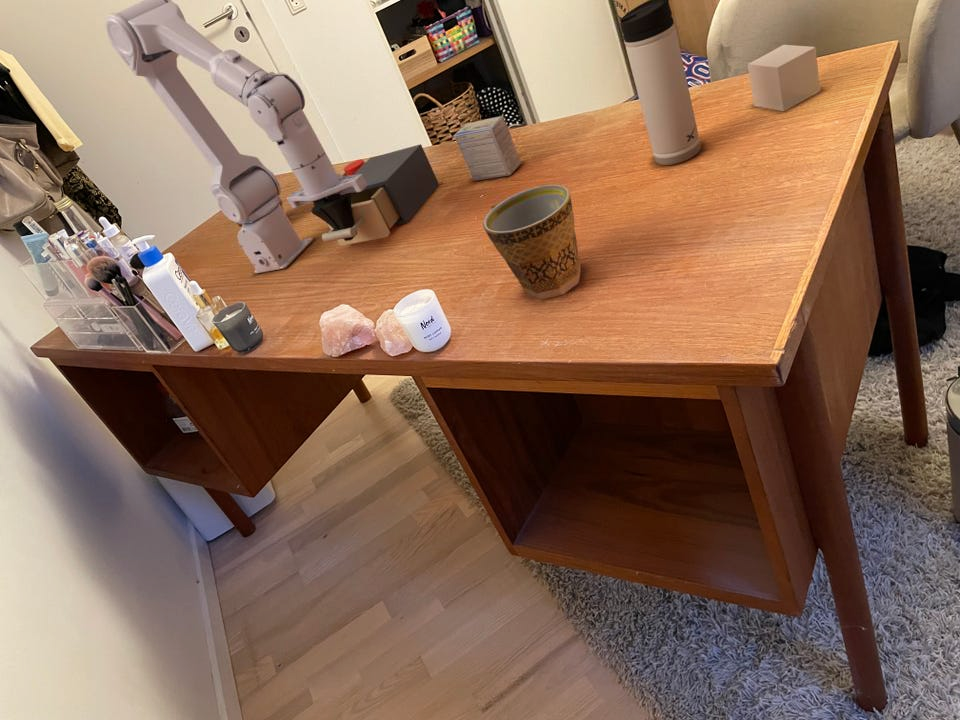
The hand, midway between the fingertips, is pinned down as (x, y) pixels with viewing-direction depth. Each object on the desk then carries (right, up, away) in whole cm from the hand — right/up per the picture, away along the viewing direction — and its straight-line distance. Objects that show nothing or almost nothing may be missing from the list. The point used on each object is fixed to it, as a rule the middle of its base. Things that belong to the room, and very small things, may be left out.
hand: (351, 237), depth 110 cm
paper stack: (+24, +12, +6) cm, 27 cm away
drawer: (+3, +2, +5) cm, 6 cm away
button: (-4, +18, +28) cm, 34 cm away
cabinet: (+6, +7, +11) cm, 15 cm away
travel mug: (+48, +8, -16) cm, 51 cm away
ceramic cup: (+29, -10, -29) cm, 42 cm away
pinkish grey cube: (+63, +16, -15) cm, 67 cm away
